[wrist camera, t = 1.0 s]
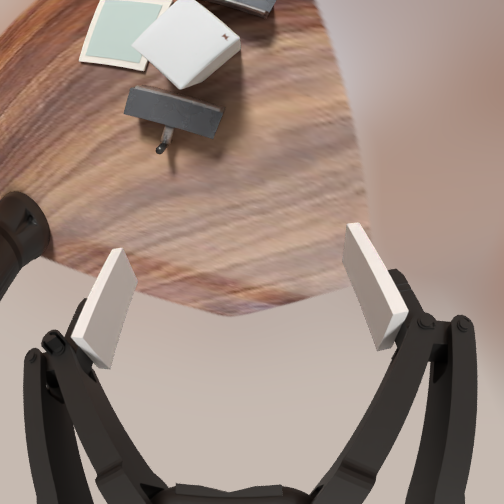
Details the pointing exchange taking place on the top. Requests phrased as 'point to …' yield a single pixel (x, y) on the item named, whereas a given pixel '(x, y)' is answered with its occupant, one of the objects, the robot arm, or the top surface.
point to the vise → (181, 106)
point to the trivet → (120, 31)
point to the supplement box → (187, 43)
